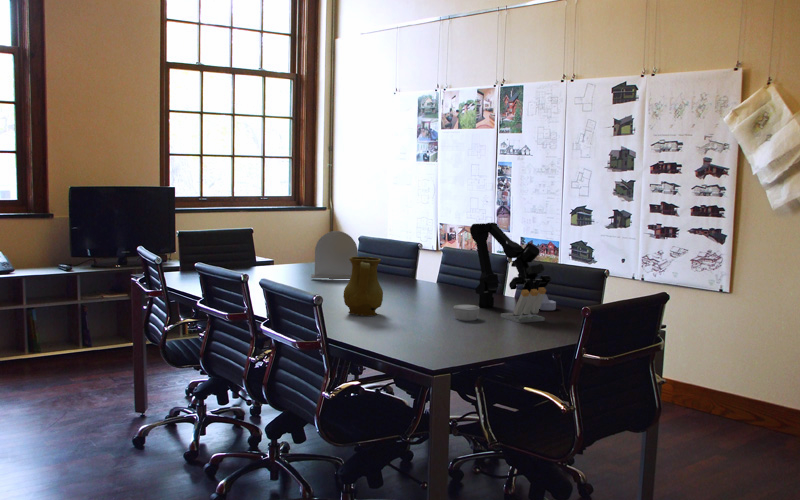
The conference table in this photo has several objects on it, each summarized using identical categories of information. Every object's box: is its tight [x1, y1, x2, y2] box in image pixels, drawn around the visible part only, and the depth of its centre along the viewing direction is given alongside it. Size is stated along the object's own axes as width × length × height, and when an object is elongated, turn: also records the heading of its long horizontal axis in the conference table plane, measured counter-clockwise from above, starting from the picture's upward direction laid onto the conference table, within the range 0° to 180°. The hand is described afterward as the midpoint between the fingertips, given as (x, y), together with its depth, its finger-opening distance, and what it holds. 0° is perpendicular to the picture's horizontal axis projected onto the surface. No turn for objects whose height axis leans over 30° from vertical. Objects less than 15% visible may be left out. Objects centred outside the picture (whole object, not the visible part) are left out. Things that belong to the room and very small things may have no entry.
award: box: [310, 230, 359, 279], centre depth 428 cm, size 28×9×28 cm, turn 97°
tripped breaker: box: [530, 287, 547, 315], centre depth 322 cm, size 2×3×13 cm
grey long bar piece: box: [522, 289, 539, 315], centre depth 319 cm, size 2×3×13 cm
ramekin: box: [453, 304, 481, 322], centre depth 322 cm, size 11×11×5 cm
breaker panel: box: [500, 311, 546, 324], centre depth 325 cm, size 14×13×2 cm
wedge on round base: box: [526, 293, 557, 311], centre depth 350 cm, size 9×7×13 cm
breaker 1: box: [513, 289, 530, 316], centre depth 317 cm, size 2×3×13 cm
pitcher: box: [343, 256, 384, 317], centre depth 326 cm, size 17×19×25 cm
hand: (537, 298), depth 322 cm, fingers closed, pressing on tripped breaker
